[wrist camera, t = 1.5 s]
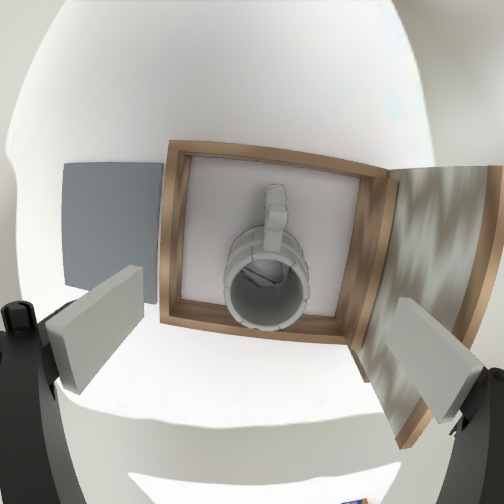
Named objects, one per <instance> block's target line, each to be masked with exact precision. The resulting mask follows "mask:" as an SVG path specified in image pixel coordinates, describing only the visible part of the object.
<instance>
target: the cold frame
mask: <svg viewBox="0 0 504 504" xmlns="http://www.w3.org/2000/svg"><path fill="white" fill-rule="evenodd" d="M191 156H201V157H215V158H227V159H237V160H247V161H256V162H265V163H273V164H280V165H288V166H294V167H301V168H307V169H314V170H320V171H325V172H331V173H336V174H342V175H347V176H352V177H357V178H361V180H360V188H359V196H358V203H357V209H356V216H355V222H354V228H353V234H352V239H351V245H350V250H349V255H348V260H347V265H346V270H345V275H344V279H343V284H342V288H341V293H340V297H339V301H338V305H337V309H336V313H335V317H325V316H314V315H303V314H302V315H301V316H300V317H299V318H298V319H297V320H296V321H295V322H294V323H292V324H291V325H289V326H288V327H286V328H283V329H279V330H274V331H261V330H259V329H257V328H253V329H250V328H248V327H246V326H244V325H242V324H241V322H240V323H239V322H237V321H236V320H235V319H234V317H233V316H232V315H231V313H230V312H229V310H228V308H227V306H224V305H217V304H210V303H203V302H197V301H190V300H184V299H181V275H182V253H183V237H184V222H185V210H186V198H187V188H188V178H189V168H190V160H191ZM503 245H504V166H454V167H427V168H410V169H395V170H388V169H384V168H379V167H375V166H371V165H367V164H362V163H358V162H353V161H348V160H344V159H339V158H333V157H328V156H323V155H317V154H311V153H305V152H299V151H292V150H285V149H278V148H270V147H262V146H253V145H243V144H232V143H219V142H204V141H183V140H169V146H168V155H167V163H166V172H165V183H164V194H163V207H162V222H161V242H160V323H163V324H168V325H174V326H179V327H185V328H191V329H197V330H203V331H209V332H216V333H223V334H230V335H238V336H246V337H254V338H263V339H272V340H283V341H294V342H307V343H322V344H341V345H347V346H348V348H349V350H350V352H351V354H352V356H353V359H354V361H355V363H356V365H357V367H358V369H359V371H360V374H361V376H362V378H363V380H364V382H365V383H369V382H371V385H372V387H373V389H374V391H375V393H376V395H377V397H378V399H379V402H380V404H381V406H382V408H383V410H384V412H385V415H386V417H387V419H388V421H389V423H390V426H391V428H392V430H393V432H394V435H395V440H396V442H397V444H398V447H399V449H400V450H402V449H407V448H410V447H412V446H413V444H414V443H415V442H416V440H417V439H418V438H419V436H420V435H421V434H422V432H423V431H424V429H425V428H426V426H427V425H428V423H429V422H430V420H431V419H432V418H433V414H432V413H431V411H430V409H429V408H428V406H427V405H426V403H425V402H424V400H423V398H422V397H421V395H420V394H419V392H418V391H417V389H416V388H415V386H414V385H413V383H412V382H411V380H410V379H409V377H408V376H407V374H406V373H405V371H404V370H403V368H402V367H401V365H400V364H399V362H398V361H397V359H396V358H395V356H394V355H393V353H392V352H391V351H390V349H389V348H388V346H387V345H386V343H385V341H386V338H387V335H388V332H389V330H390V327H391V324H392V320H393V317H394V314H395V311H396V308H397V304H398V301H399V297H404V298H411V299H413V300H414V301H415V302H416V303H417V304H419V305H420V306H421V307H422V308H423V309H424V310H425V311H427V312H428V313H429V314H430V315H431V316H432V317H433V318H435V319H436V320H437V321H438V322H439V323H440V324H441V325H442V326H444V327H445V328H446V329H447V330H448V331H449V332H450V333H451V334H452V335H454V336H455V337H456V338H457V339H458V340H459V341H460V342H461V343H462V344H463V345H464V346H465V347H466V348H467V349H468V350H470V348H471V346H472V344H473V341H474V339H475V337H476V334H477V332H478V329H479V326H480V324H481V322H482V318H483V316H484V313H485V311H486V308H487V304H488V302H489V299H490V295H491V292H492V289H493V286H494V282H495V279H496V275H497V271H498V267H499V263H500V259H501V254H502V250H503Z"/></svg>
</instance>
